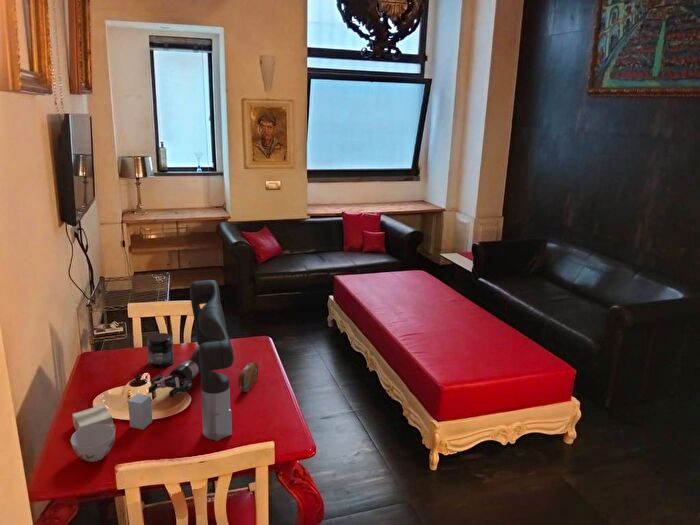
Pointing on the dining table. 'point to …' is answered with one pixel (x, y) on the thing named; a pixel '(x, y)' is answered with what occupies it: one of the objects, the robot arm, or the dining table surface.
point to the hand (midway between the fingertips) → (159, 392)
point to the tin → (248, 377)
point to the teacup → (93, 441)
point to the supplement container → (160, 350)
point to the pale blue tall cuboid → (140, 411)
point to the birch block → (92, 417)
